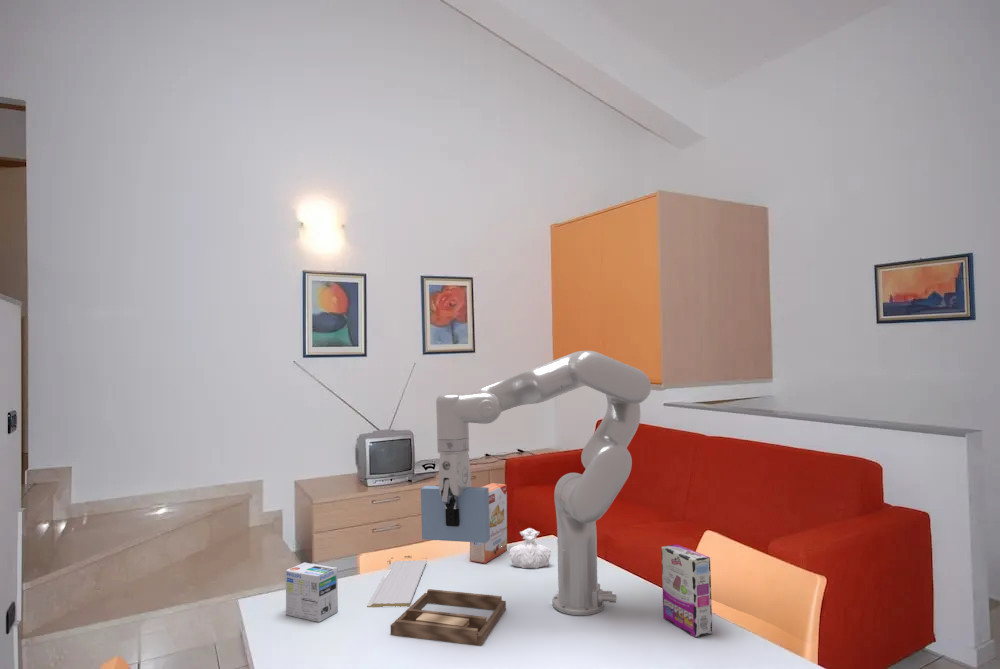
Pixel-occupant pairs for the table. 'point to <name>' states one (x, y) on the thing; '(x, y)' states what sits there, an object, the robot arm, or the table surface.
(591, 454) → the robot arm
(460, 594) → the rack
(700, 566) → the candy bar box
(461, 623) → the tan rectangular block
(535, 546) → the tied white plastic bag
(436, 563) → the table surface
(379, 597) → the baseboard molding
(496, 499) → the cracker box
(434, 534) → the blue rectangular block
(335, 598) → the light bulb box
